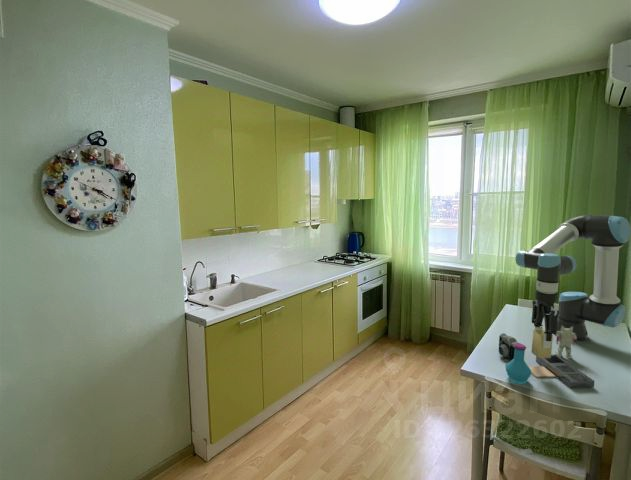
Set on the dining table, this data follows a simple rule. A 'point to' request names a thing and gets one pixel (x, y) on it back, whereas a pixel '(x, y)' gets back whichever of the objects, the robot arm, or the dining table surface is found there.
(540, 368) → the cork mat
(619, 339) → the dining table surface
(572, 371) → the grey slotted tray
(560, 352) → the figurine
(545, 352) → the block
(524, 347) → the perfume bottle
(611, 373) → the dining table surface
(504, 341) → the camera
